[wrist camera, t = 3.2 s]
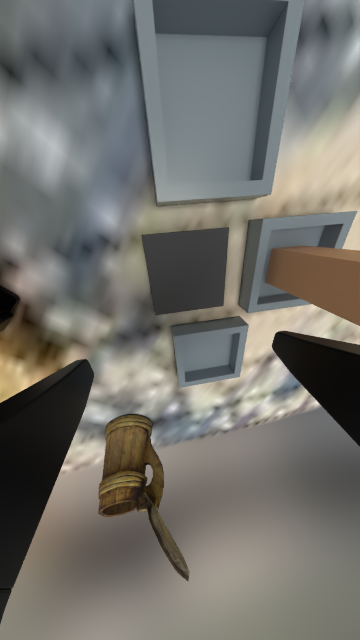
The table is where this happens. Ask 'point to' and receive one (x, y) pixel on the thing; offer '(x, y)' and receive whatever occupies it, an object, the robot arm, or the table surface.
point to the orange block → (319, 277)
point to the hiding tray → (280, 234)
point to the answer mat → (186, 269)
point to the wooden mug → (135, 480)
